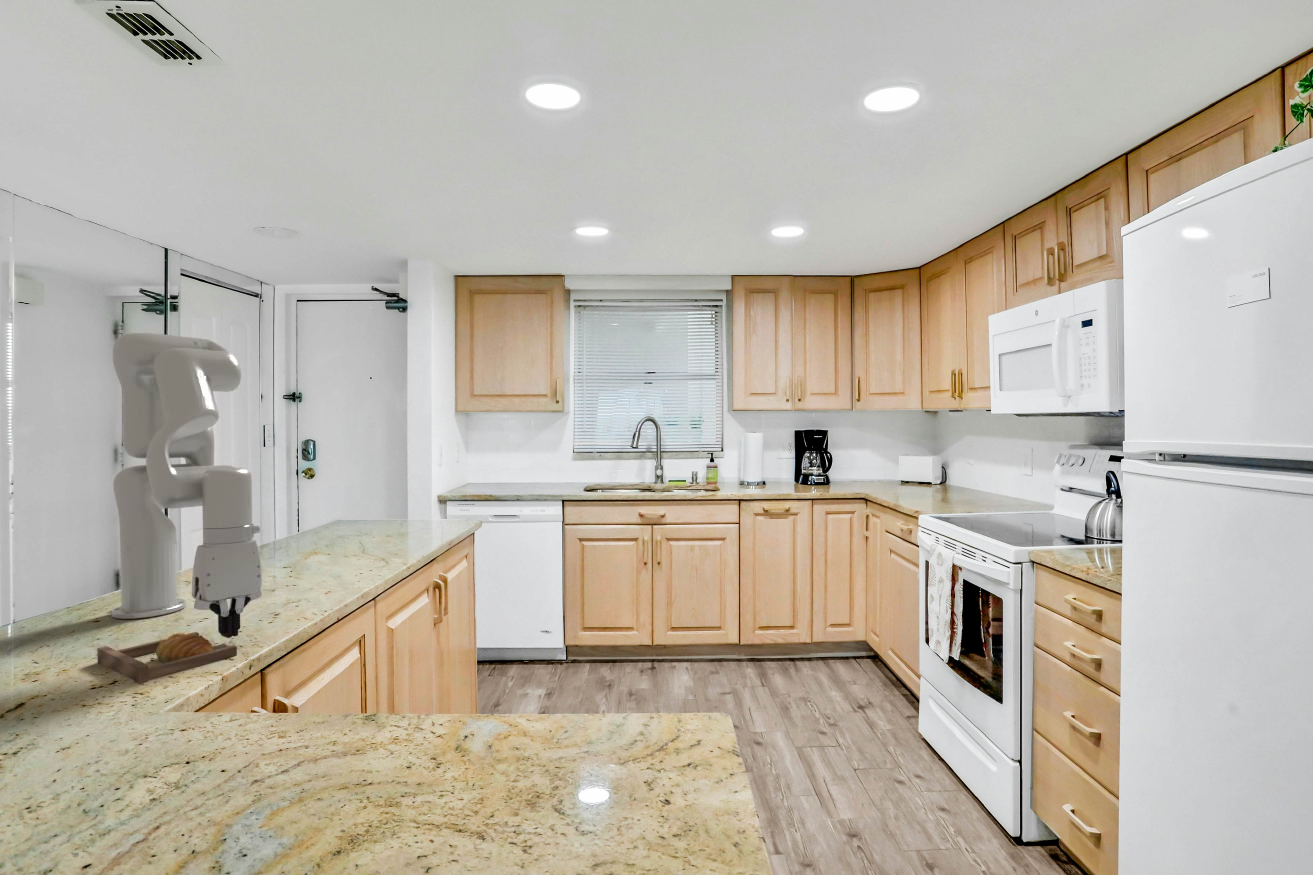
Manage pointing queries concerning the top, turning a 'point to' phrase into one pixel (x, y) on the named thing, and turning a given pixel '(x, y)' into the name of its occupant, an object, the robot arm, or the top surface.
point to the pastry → (182, 647)
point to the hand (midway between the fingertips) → (229, 635)
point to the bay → (142, 673)
